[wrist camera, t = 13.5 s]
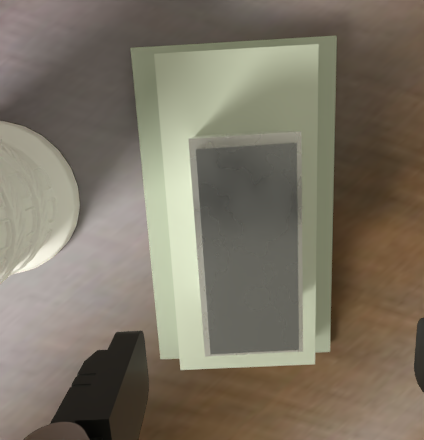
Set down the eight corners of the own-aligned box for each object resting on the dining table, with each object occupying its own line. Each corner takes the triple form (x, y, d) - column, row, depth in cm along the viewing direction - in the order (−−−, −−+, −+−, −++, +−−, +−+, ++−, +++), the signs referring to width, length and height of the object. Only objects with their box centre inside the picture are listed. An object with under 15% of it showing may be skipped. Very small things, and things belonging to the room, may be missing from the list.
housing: (194, 135, 24) (187, 139, 18) (280, 130, 24) (304, 131, 18) (207, 307, 27) (204, 362, 21) (284, 303, 27) (305, 357, 21)
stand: (162, 352, 33) (155, 382, 29) (133, 50, 27) (119, 38, 23) (326, 345, 32) (341, 374, 29) (332, 38, 27) (352, 23, 23)
